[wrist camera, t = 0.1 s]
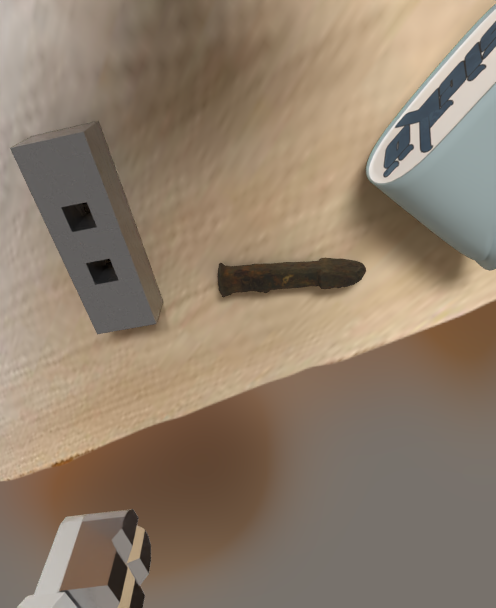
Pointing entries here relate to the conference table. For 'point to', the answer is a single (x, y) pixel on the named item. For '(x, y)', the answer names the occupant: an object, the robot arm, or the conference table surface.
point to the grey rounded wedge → (448, 148)
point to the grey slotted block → (91, 225)
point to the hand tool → (289, 275)
